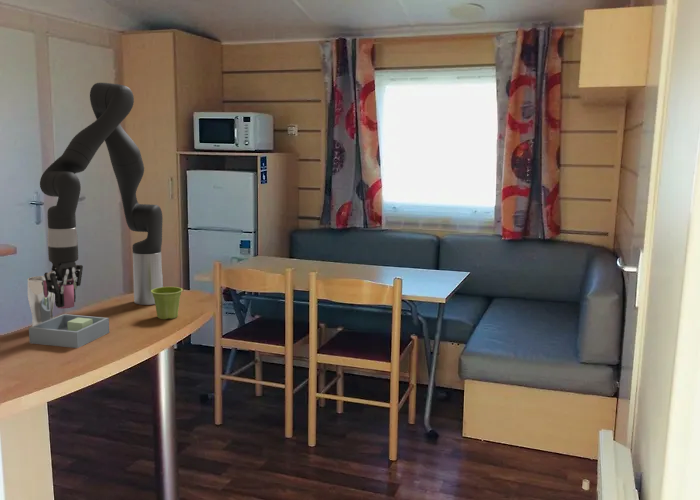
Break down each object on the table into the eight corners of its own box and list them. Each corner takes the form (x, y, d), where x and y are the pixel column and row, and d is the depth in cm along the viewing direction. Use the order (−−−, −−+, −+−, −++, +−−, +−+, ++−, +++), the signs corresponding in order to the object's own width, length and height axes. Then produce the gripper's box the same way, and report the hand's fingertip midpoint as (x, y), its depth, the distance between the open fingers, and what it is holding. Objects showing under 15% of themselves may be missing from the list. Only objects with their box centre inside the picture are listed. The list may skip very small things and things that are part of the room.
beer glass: (30, 326, 189) (27, 276, 187) (56, 324, 192) (53, 275, 189) (29, 333, 183) (26, 281, 180) (56, 331, 186) (53, 280, 183)
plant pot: (171, 322, 197) (170, 294, 195) (145, 318, 200) (144, 291, 199) (189, 315, 205) (188, 288, 204) (164, 311, 209) (163, 285, 207)
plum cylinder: (63, 304, 183) (62, 283, 182) (77, 305, 182) (76, 284, 181) (53, 307, 179) (52, 286, 178) (67, 309, 178) (66, 287, 177)
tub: (64, 328, 188) (63, 313, 188) (109, 332, 185) (108, 317, 185) (29, 343, 174) (28, 327, 174) (77, 348, 171) (77, 332, 171)
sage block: (93, 334, 180) (92, 318, 180) (82, 339, 176) (82, 323, 175) (78, 333, 181) (77, 317, 181) (68, 338, 177) (67, 321, 176)
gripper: (58, 248, 170) (61, 311, 173) (90, 241, 184) (93, 299, 187) (33, 247, 172) (36, 309, 175) (67, 239, 186) (70, 297, 188)
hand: (65, 304), depth 181 cm, fingers closed on plum cylinder, 4 cm apart
